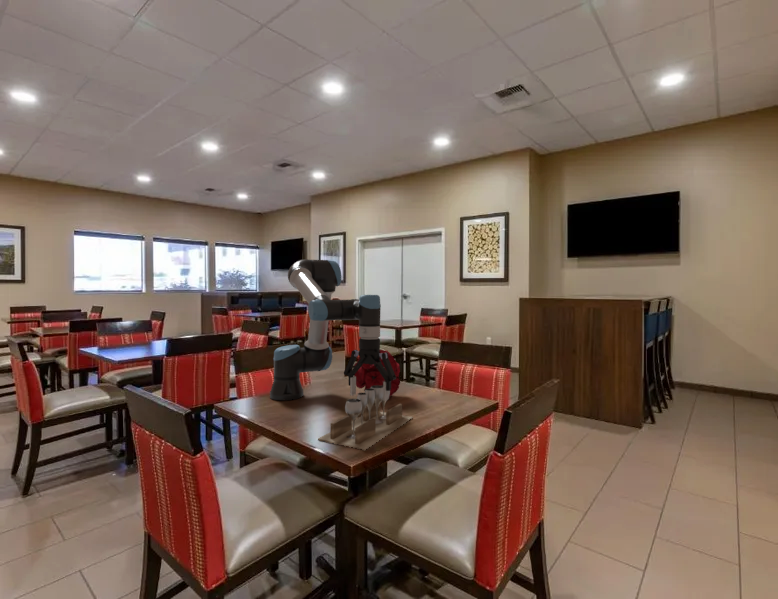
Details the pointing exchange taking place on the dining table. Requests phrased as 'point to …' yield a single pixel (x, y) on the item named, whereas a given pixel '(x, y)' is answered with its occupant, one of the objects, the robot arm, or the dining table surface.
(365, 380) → the bouquet
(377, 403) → the goblet set
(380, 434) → the glass rack
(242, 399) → the dining table surface
